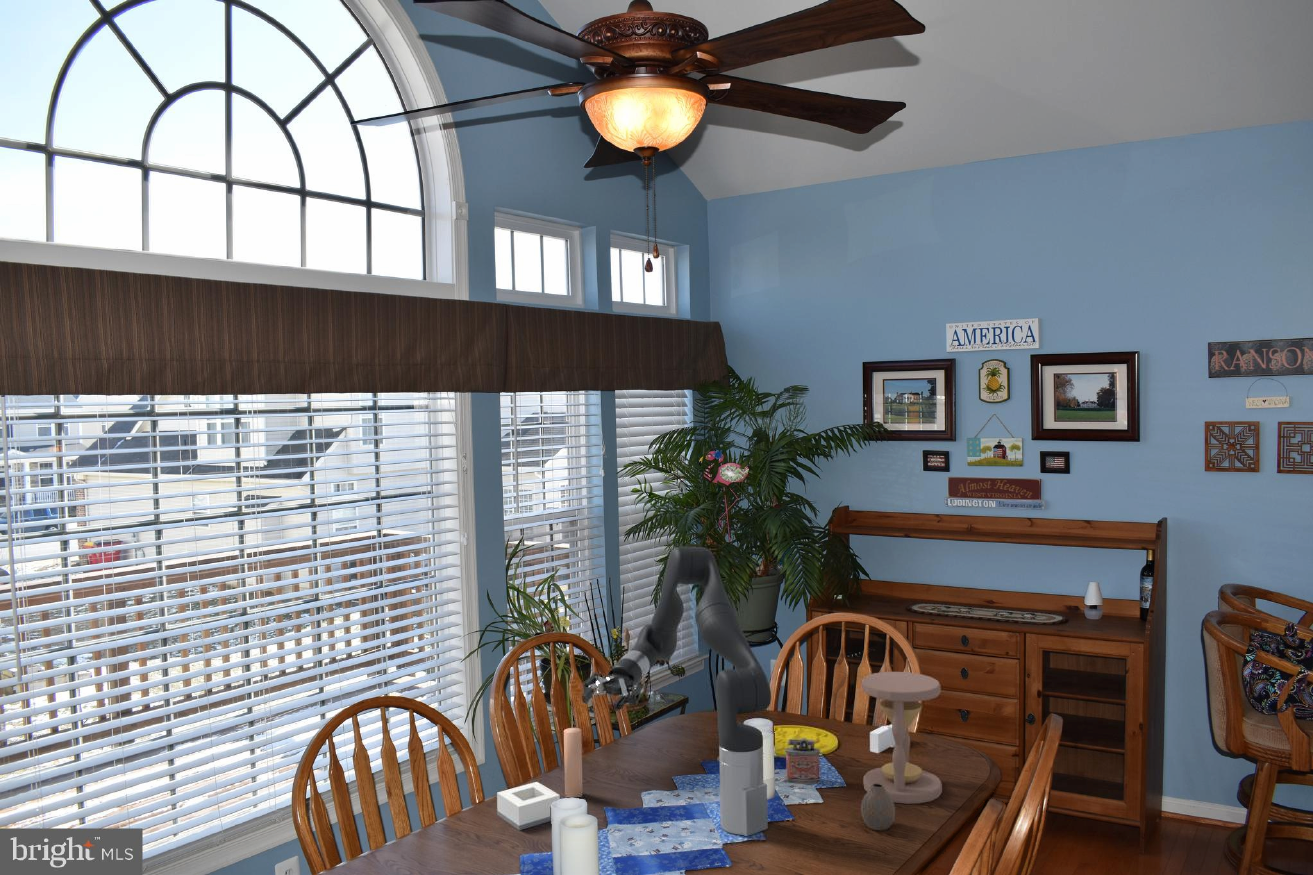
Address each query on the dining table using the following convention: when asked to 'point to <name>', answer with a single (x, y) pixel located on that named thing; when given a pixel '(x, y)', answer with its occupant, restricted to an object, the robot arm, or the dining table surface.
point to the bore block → (526, 805)
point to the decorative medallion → (821, 737)
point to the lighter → (802, 762)
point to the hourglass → (902, 735)
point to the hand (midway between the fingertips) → (599, 703)
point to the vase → (878, 808)
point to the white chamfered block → (881, 739)
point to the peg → (573, 762)
